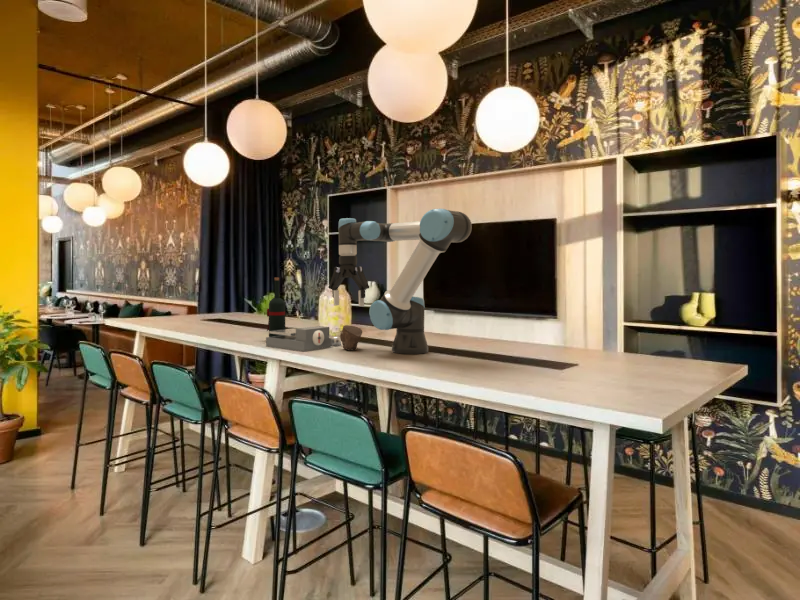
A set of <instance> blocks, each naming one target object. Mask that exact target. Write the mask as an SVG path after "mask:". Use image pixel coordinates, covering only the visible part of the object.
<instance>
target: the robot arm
mask: <svg viewBox="0 0 800 600" xmlns="http://www.w3.org/2000/svg"><path fill="white" fill-rule="evenodd" d="M472 226H473V224H472V221H471V219H470V217H469V216H468V215H467V214H466V213H465V212H461V211H456V210H449V209H445V208H433V209H430V210H428V211H427V212H425V213H424V214H423V216H422V217H421V219H420V220H417V221H404V222H391V223H389V222H388V223H379V222H377V221H373V220H366V221H359V222H357V219H356V218H351V217H349V218H348V217H346V218H340V219H339V221H338V227H337V230H338V255H339V257H338V264H339V266H338V267H337V266H335V267H333V273H332V276H331V279H330V282H329V284H328V289H330V290H331V291H332V298H333V306H340V290H339V288H340V286H341V285H342V283H343V281H344V280H345V278H351V279H352V280H353V281H354V283H355V284H356V286H357V287H358V288H359V290H358V307H364V306H365V298H366V290H368V289H370V285H369V282H368V279H367V277H366V276H365V273H364V267H363V266H357V263H358V257H357V253H358V251H357V250H358V248H357V244H358V243H357V242H359V241H371V242H372V241H373V242H386V243H391V242H392V243H394V242H399V241H402V242H403V241H418V240H419V242H418V244H417V246H415V249H414V250H413V253H412V254H411V255H410V257H409V258H408V260H407V262H406V264H405V266H404V267H403V269H402V270H401V272H400V274H399V275H398V278H397V279H396V281H395V282H394V284H393V285H392V287H391V289H389V290H386V291H384V294H383V295H382V296H381V298H380V299H377V300H375V301H373V302H371V304H370V307H369V312H368V313H369V314H368V315H369V319H370V322H371V324H372V325H373V326H374V327H375V328H377V329H378V330H381V331H388V330H394V329H396V331H395V332H396V333H395V336H394V339H393V342H392V345H391V351H392V353H395V354H402V355H403V354H404V355H419V354H427V353H429V346H428V342H427V338H426V335H425V309H426V307H425V300H424V298H423V297H418V296H414V295H415V293H416V291H417V290H418V289H419V287H420V286H421V284H422V282H423V281H424V279H425V278H426V276H427V274H428V272H429V271H430V269H431V268H432V266H433V264H434V263H435V261H436V260H437V258H438V256H439V255H440V254H441V253H445V252H446V251H447V250H448V248H449V246H450V245H451V243H453V244H454V243H456V244H457V243H462V242H464V241H465V240H467V239H468V238H469V236H470V235H471V233H472V229H473V228H472Z"/></svg>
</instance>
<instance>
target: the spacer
mask: <svg viewBox="0 0 800 600" xmlns="http://www.w3.org/2000/svg"><path fill="white" fill-rule="evenodd" d="M330 338H331V347H341V346H342V341H341V339H340V335H335V336H334V335H331V337H330Z"/></svg>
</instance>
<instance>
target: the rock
mask: <svg viewBox="0 0 800 600" xmlns="http://www.w3.org/2000/svg"><path fill="white" fill-rule="evenodd" d="M362 334H363V330H362V329H361V327H358V326H355V325H348V324H346V325H343V326H342V330H341V331H340V335H339V336H340V339H341V346H342V348H343V349H344V350H345V351H356V350H357V349H358V348H357V347H358V344H359V341H360V339H361V336H362Z"/></svg>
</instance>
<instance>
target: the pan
mask: <svg viewBox="0 0 800 600" xmlns="http://www.w3.org/2000/svg"><path fill="white" fill-rule="evenodd" d="M296 329H297V328H294V327H292V328H285V329H283V330H274V331H269V330H268V334H269V333H271V334H279V335H288V336H295V335H296Z"/></svg>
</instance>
